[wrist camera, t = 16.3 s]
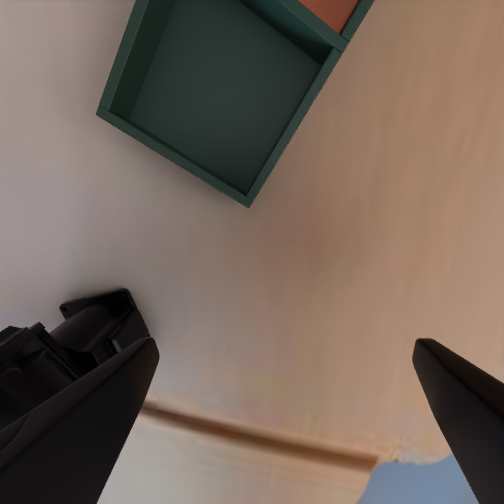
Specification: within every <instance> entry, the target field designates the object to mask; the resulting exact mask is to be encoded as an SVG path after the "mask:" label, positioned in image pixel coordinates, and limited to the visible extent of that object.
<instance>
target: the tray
mask: <svg viewBox="0 0 504 504" xmlns="http://www.w3.org/2000/svg"><path fill="white" fill-rule="evenodd" d="M373 2H374V0H136V1H135V4H134V7H133V10H132V13H131V16H130V18H129V21H128V24H127V27H126V30H125V32H124V35H123V38H122V41H121V44H120V47H119V49H118V52H117V55H116V58H115V61H114V64H113V66H112V69H111V72H110V75H109V78H108V81H107V83H106V86H105V89H104V92H103V95H102V98H101V100H100V103H99V107H98V109H97V112H96V115H97V116H99V117H100V118H102V119H104V120H105V121H107V122H108V123H110V124H112V125H113V126H115V127H117V128H118V129H120V130H122V131H123V132H125V133H126V134H128V135H130V136H131V137H133V138H135V139H136V140H138V141H139V142H141V143H143V144H144V145H146V146H148V147H149V148H151V149H153V150H154V151H156V152H157V153H159V154H161V155H162V156H164V157H166V158H167V159H169V160H171V161H172V162H174V163H175V164H177V165H179V166H180V167H182V168H184V169H185V170H187V171H188V172H190V173H192V174H193V175H195V176H197V177H198V178H200V179H202V180H203V181H205V182H206V183H208V184H210V185H211V186H213V187H215V188H216V189H218V190H220V191H221V192H223V193H224V194H226V195H228V196H229V197H231V198H233V199H234V200H236V201H237V202H239V203H241V204H242V205H244V206H246V207H247V208H249V207H250V206H251V204H252V202H253V200H254V199H255V197H256V196H257V194H258V193H259V191H260V189H261V188H262V186H263V184H264V183H265V181H266V179H267V178H268V176H269V174H270V173H271V171H272V169H273V168H274V166H275V164H276V163H277V161H278V159H279V158H280V156H281V154H282V153H283V151H284V149H285V148H286V146H287V144H288V143H289V141H290V139H291V138H292V136H293V134H294V133H295V131H296V130H297V128H298V126H299V125H300V123H301V121H302V120H303V118H304V116H305V115H306V113H307V111H308V110H309V108H310V106H311V105H312V103H313V101H314V100H315V98H316V96H317V95H318V93H319V91H320V90H321V88H322V86H323V85H324V83H325V81H326V80H327V78H328V76H329V75H330V73H331V72H332V70H333V68H334V67H335V65H336V63H337V62H338V60H339V58H340V57H341V54H342V53H343V52H344V50H345V48H346V47H347V45H348V43H349V42H350V40H351V38H352V37H353V35H354V33H355V32H356V30H357V28H358V27H359V25H360V23H361V22H362V20H363V18H364V17H365V15H366V13H367V12H368V10H369V9H370V7H371V5H372V4H373Z"/></svg>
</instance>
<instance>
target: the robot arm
mask: <svg viewBox="0 0 504 504" xmlns="http://www.w3.org/2000/svg"><path fill="white" fill-rule="evenodd" d="M122 293H123V294H125V296H123V295H122ZM66 307H67V308H68V309H67V308H66ZM59 309H60V311H61V313H62V314H63V316H64V318H65V319H66V320H65V321H64V322H63V323H62V324H60V325H59V326H58V327H57V328H55V329H54V330H53V331H52V332H51V333H48V332H47V331H46V330H45V329H44V328H45V327H44V326H43V325H42V324H41V323H40V322H38V323H36V324H34V325H33V326H31V327H29V328H27V327H25V328H18V327H13V326H9V327H7V328H5V329H4V330H2V331H0V504H97V502H98V499H99V497H100V495H101V493H102V491H103V489H104V487H105V484H106V482H107V480H108V478H109V476H110V474H111V472H112V469H113V467H114V465H115V463H116V461H117V459H118V457H119V454H120V452H121V450H122V448H123V446H124V444H125V442H126V439H127V437H128V435H129V433H130V431H131V429H132V427H133V424H134V422H135V420H136V418H137V416H138V414H139V412H140V409H141V407H142V405H143V403H144V400H145V397H146V395H147V392H148V389H149V387H150V384H151V381H152V378H153V376H154V373H155V370H156V367H157V365H158V362H159V357H160V355H159V351H158V348H157V345H156V343H155V340H154V339H153V338H151V337H150V335H149V333H148V329H147V327H146V325H145V322H144V320H143V318H142V316H141V314H140V312H139V310H138V309H137V307H136V304H135V302H134V300H133V298H132V296H131V294H130V292H129V291H128V290H127V289H120V290H116V291H111V292H107V293H103V294H98V295H94V296H89V297H85V298H81V299H76V300H72V301H68V302H65V303H63V304H62V305H60V308H59ZM412 361H413V365H414V368H415V370H416V373H417V375H418V378H419V380H420V383H421V385H422V388H423V390H424V393H425V395H426V398H427V400H428V403H429V405H430V408H431V410H432V412H433V415H434V417H435V419H436V421H437V423H438V425H439V427H440V429H441V431H442V433H443V435H444V437H445V439H446V441H447V443H448V444H449V446H450V448H451V450H452V452H453V454H454V456H455V458H456V460H457V462H458V464H459V466H460V468H461V469H462V471H463V473H464V475H465V477H466V479H467V481H468V483H469V485H470V487H471V489H472V491H473V493H474V495H475V496H476V498H477V500H478V502H479V504H504V383H502V382H501V381H499V380H497V379H496V378H494V377H493V376H491V375H489V374H488V373H486V372H485V371H483V370H481V369H480V368H478V367H477V366H475V365H474V364H472V363H470V362H469V361H467V360H466V359H464V358H462V357H461V356H459V355H458V354H456V353H454V352H453V351H451V350H450V349H448V348H446V347H445V346H443V345H442V344H440V343H439V342H437V341H435V340H433V339H430V338H419V339H417V340H416V342H415V346H414V351H413V357H412Z"/></svg>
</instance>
